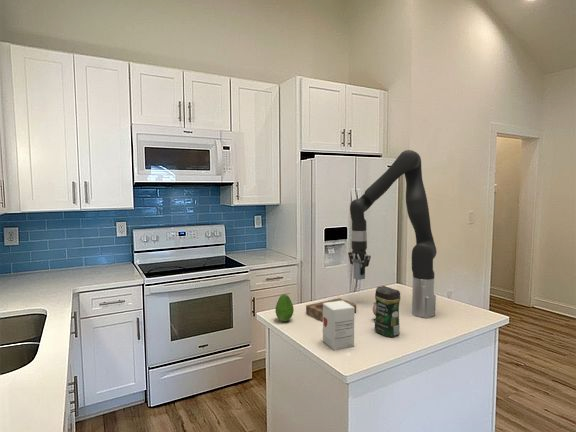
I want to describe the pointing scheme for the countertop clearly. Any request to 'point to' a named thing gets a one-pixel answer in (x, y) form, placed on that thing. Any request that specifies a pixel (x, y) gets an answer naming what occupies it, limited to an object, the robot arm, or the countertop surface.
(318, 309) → the socket block
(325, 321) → the supplement box
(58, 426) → the countertop surface
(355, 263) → the plug
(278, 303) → the avocado
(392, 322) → the coffee jar
